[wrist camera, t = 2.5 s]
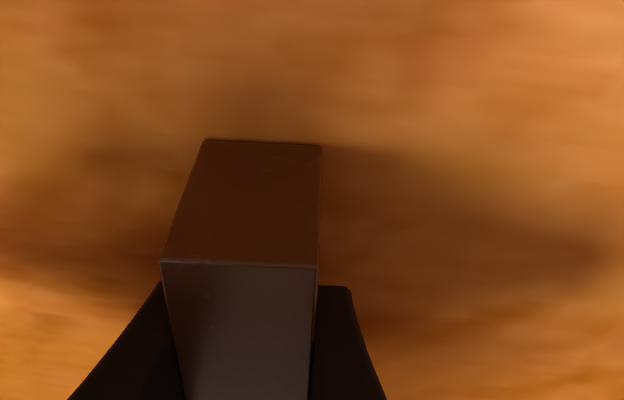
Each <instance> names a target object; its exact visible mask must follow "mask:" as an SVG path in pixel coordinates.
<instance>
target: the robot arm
mask: <svg viewBox="0 0 624 400" xmlns="http://www.w3.org/2000/svg"><path fill="white" fill-rule="evenodd" d="M67 400H184V395H183V389H182V384H181V379H180V374H179V368H178V363H177V358H176V352H175V347H174V342H173V337H172V331H171V326H170V321H169V316H168V310H167V305H166V300H165V295H164V289H163V284H162V280H161V281H159V282H158V284H157V285H156V287H155V288H154V290H153V291H152V293H151V294H150V295H149V297H148V298H147V300H146V301H145V303H144V304H143V305H142V307H141V308H140V309H139V311H138V312H137V314H136V315H135V316H134V318H133V319H132V320H131V322H130V323H129V324H128V326H127V327H126V328H125V330H124V331H123V332H122V334H121V335H120V336H119V337H118V339H117V340H116V341H115V343H114V344H113V345H112V346H111V348H110V349H109V350H108V351H107V353H106V354H105V355H104V356H103V358H102V359H101V360H100V361H99V362H98V364H97V365H96V366H95V367H94V369H93V370H92V371H91V372H90V374H89V375H88V376H87V377H86V378H85V380H84V381H83V382H82V383H81V384H80V386H79V387H78V388H77V389H76V390H75V391H74V392H73V393H72V395H71V396H70V397H69V398H68V399H67ZM310 400H387V399H386V396H385V394H384V391H383V389H382V387H381V384H380V382H379V379H378V377H377V374H376V372H375V370H374V367H373V365H372V362H371V359H370V357H369V354H368V351H367V348H366V345H365V342H364V339H363V336H362V334H361V330H360V327H359V324H358V321H357V317H356V313H355V309H354V305H353V301H352V296H351V291H350V290H349V289H348V288H347V287H346V286H326V285H318V292H317V306H316V321H315V335H314V350H313V364H312V379H311V393H310Z"/></svg>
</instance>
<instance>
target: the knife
mask: <svg viewBox="0 0 624 400" xmlns="http://www.w3.org/2000/svg"><path fill="white" fill-rule="evenodd" d="M321 156H322V149H321V147H320V146H314V145H293V144H273V143H253V142H232V141H212V140H204V141H203V142H202V145H201V147H200V150H199V153H198V155H197V158H196V160H195V163H194V166H193V168H192V171H191V174H190V176H189V179H188V181H187V184H186V187H185V189H184V192H183V195H182V197H181V200H180V203H179V205H178V208H177V210H176V213H175V216H174V218H173V221H172V224H171V226H170V229H169V231H168V234H167V237H166V239H165V242H164V245H163V247H162V250H161V252H160V255H159V258H158V263H159V268H160V274H161V279H162V284H163V289H164V295H165V300H166V305H167V310H168V316H169V321H170V326H171V331H172V337H173V342H174V347H175V352H176V358H177V363H178V368H179V374H180V379H181V384H182V389H183V395H184V400H310V393H311V379H312V364H313V350H314V335H315V321H316V306H317V292H318V278H319V253H320V205H321Z"/></svg>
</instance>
